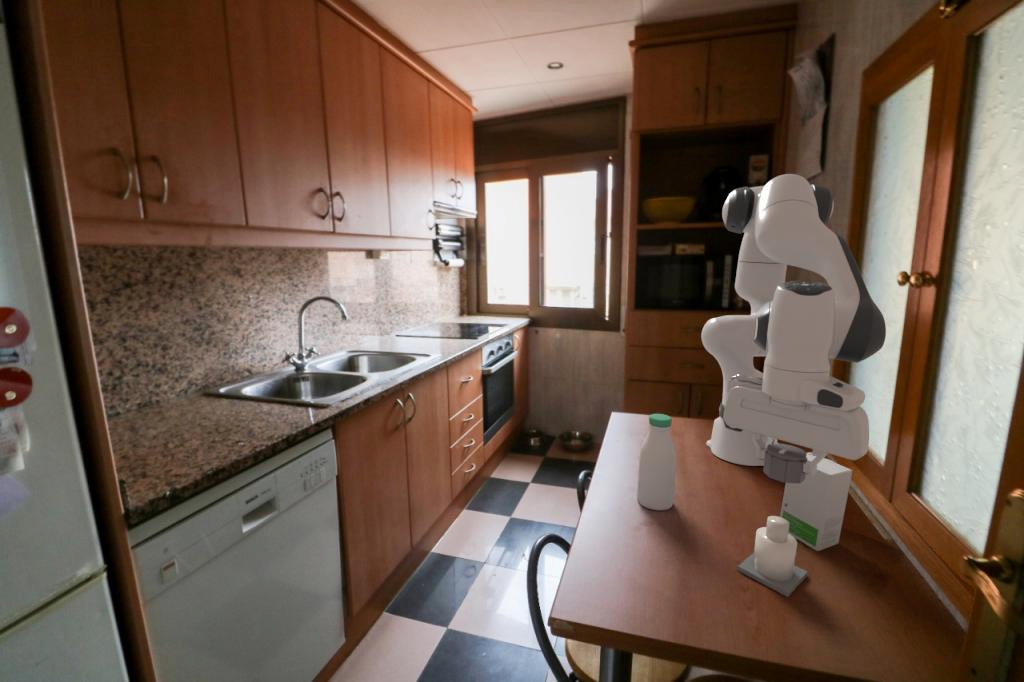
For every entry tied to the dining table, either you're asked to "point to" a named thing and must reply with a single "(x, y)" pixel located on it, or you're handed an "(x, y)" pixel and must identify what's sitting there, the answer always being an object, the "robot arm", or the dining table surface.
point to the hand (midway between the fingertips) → (784, 466)
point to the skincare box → (817, 504)
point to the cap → (784, 463)
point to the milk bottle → (657, 465)
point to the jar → (774, 558)
